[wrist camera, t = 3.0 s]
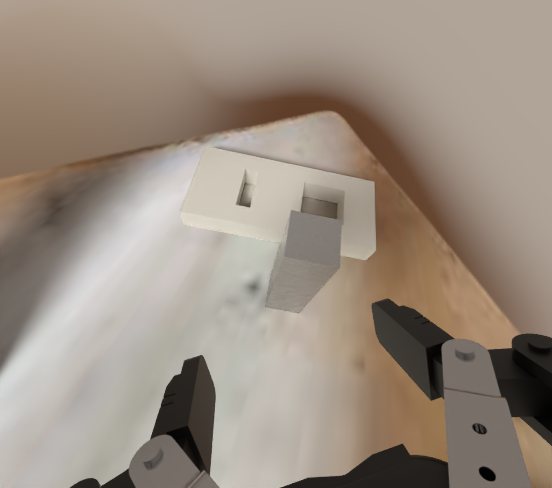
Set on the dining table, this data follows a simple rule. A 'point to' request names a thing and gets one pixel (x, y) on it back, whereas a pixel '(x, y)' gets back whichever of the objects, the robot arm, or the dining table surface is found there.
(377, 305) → the robot arm
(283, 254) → the gray square peg
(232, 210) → the socket plank
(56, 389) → the dining table surface
